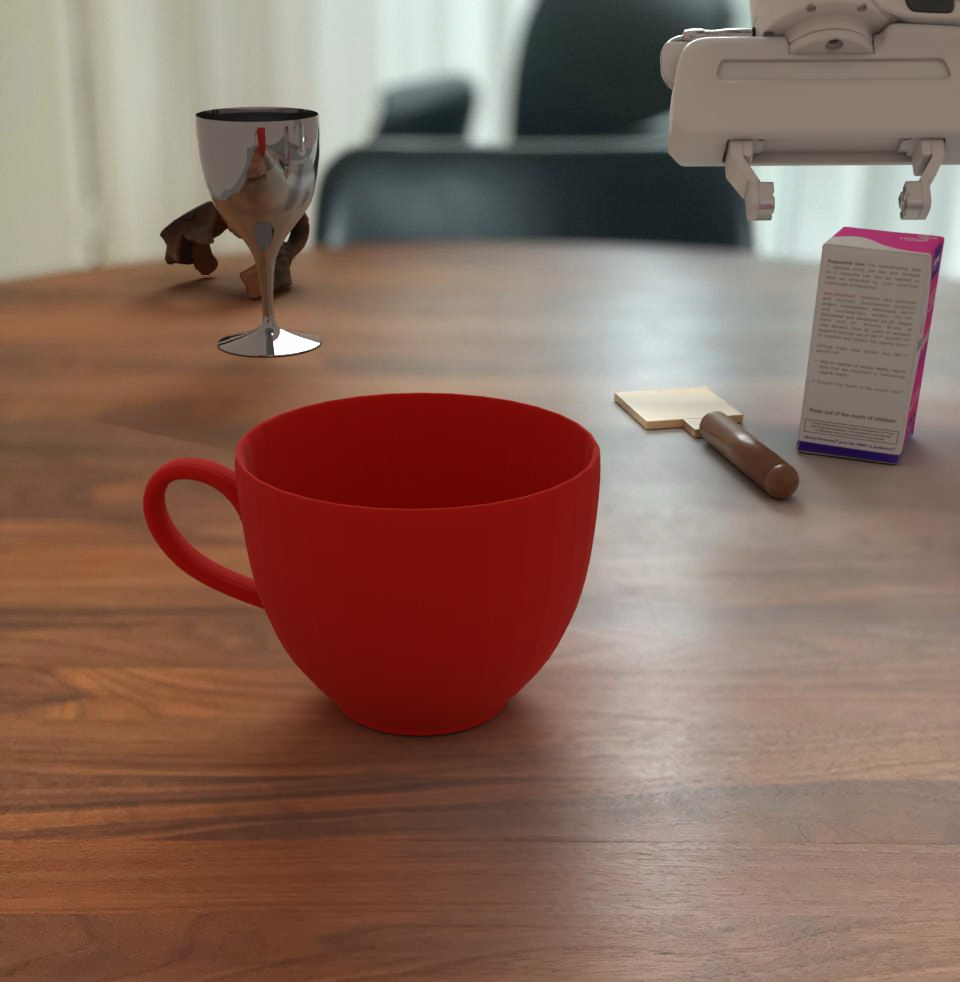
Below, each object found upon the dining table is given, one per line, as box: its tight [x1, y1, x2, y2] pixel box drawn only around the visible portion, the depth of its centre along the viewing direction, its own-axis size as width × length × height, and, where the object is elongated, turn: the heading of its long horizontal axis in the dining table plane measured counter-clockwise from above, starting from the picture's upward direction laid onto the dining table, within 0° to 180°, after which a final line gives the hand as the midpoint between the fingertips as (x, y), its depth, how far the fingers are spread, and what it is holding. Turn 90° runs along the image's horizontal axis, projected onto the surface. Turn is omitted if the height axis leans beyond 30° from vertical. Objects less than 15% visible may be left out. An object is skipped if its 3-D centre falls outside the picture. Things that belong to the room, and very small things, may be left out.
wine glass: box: [194, 106, 322, 357], centre depth 100 cm, size 8×8×15 cm
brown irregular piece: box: [159, 200, 311, 300], centre depth 118 cm, size 12×10×8 cm
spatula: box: [613, 385, 800, 499], centre depth 84 cm, size 19×6×2 cm, turn 14°
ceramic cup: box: [142, 392, 602, 737], centre depth 55 cm, size 13×17×10 cm
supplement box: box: [795, 226, 945, 465], centre depth 82 cm, size 6×6×12 cm
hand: (838, 215), depth 91 cm, fingers open, 8 cm apart
